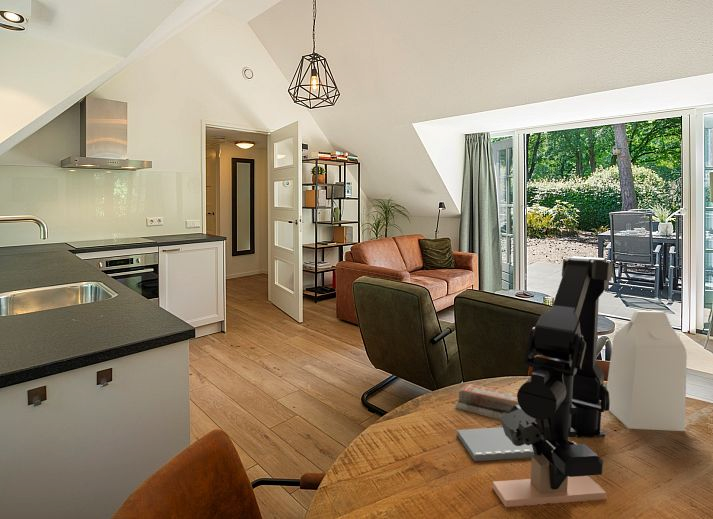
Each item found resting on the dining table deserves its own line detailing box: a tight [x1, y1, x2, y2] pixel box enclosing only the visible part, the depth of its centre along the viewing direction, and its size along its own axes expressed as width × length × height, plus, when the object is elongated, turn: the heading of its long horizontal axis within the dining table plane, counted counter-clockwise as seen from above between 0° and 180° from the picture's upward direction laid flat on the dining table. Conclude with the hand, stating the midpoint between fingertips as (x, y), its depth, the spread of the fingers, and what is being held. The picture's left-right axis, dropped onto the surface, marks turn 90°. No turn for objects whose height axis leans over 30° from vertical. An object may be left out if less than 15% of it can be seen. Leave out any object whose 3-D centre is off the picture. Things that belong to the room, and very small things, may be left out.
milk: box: [606, 310, 688, 432], centre depth 100 cm, size 12×12×26 cm
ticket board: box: [456, 426, 535, 462], centre depth 89 cm, size 18×10×1 cm, turn 96°
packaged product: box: [454, 383, 519, 421], centre depth 105 cm, size 18×5×10 cm
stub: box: [492, 455, 607, 508], centre depth 73 cm, size 18×5×6 cm, turn 96°
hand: (548, 482), depth 73 cm, fingers closed on stub, 3 cm apart
